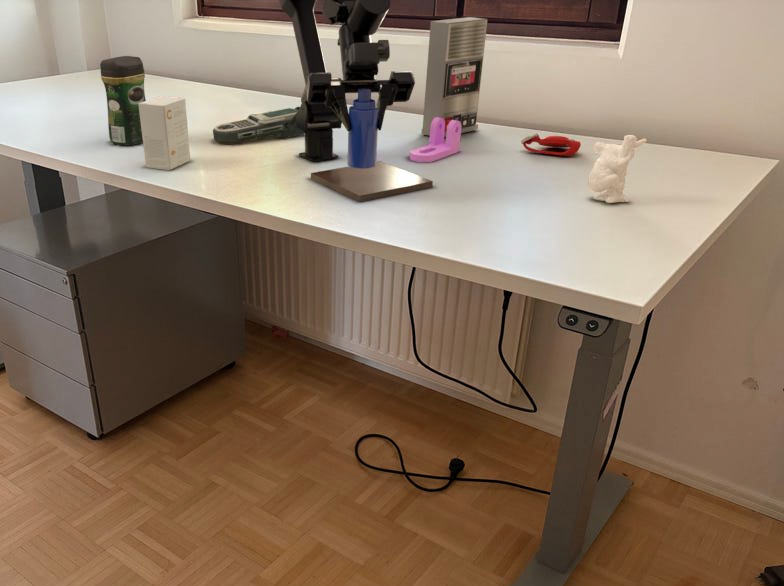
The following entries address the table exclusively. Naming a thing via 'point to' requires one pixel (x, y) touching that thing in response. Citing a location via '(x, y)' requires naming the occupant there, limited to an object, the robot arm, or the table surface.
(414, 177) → the walnut board
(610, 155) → the white crouching figurine
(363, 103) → the blue bottle
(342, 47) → the robot arm
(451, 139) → the bracket
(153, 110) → the small box
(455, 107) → the cassette tape recorder
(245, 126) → the communication device
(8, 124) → the table surface
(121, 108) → the coffee jar
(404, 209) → the table surface
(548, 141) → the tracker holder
